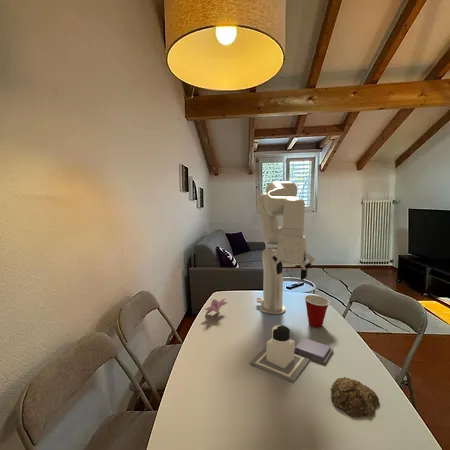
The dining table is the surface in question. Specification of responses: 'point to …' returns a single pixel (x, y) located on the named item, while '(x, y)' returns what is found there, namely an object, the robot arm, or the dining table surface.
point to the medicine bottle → (280, 347)
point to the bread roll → (354, 397)
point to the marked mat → (288, 373)
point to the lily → (215, 306)
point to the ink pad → (313, 350)
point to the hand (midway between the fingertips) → (290, 276)
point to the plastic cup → (316, 309)
